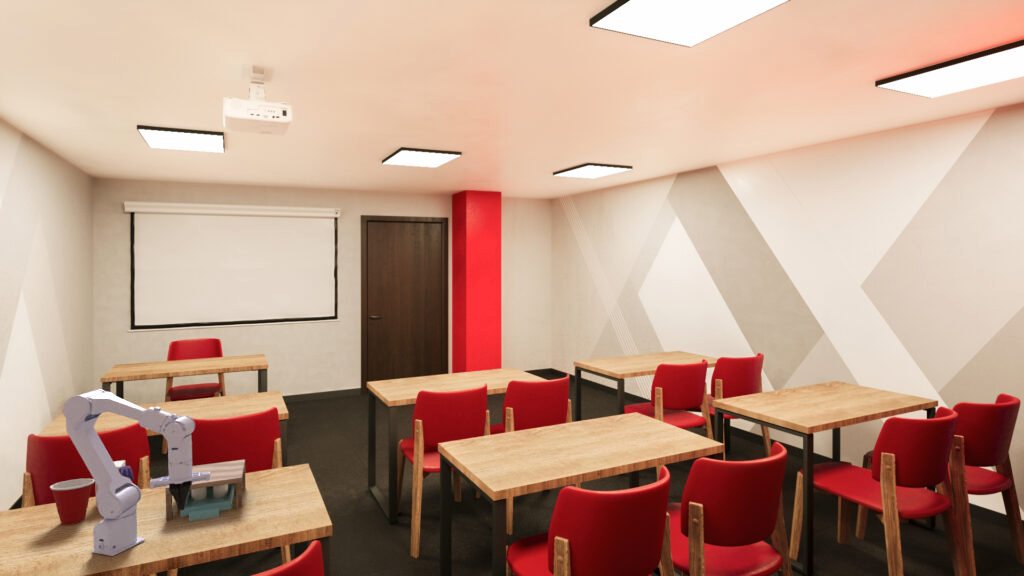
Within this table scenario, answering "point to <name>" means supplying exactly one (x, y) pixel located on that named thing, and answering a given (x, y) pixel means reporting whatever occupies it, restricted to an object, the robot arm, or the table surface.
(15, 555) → the table surface
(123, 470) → the toy lamp
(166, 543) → the table surface
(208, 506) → the tray
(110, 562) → the table surface
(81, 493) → the plastic cup
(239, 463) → the walnut shelf
